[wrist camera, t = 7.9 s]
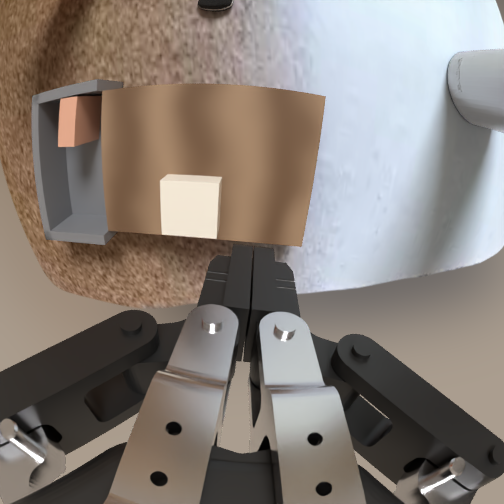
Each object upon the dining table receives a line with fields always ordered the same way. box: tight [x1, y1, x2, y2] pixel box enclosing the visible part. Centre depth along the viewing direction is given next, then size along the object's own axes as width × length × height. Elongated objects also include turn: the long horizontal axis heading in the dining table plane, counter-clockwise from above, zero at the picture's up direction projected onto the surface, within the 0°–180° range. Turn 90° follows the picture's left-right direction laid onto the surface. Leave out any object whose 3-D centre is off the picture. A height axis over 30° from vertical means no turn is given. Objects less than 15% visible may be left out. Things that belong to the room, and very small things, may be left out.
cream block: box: [160, 174, 222, 239], centre depth 21 cm, size 4×4×2 cm
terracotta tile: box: [58, 96, 102, 147], centre depth 19 cm, size 4×4×2 cm
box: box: [32, 79, 123, 245], centre depth 21 cm, size 8×15×5 cm, turn 175°
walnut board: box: [101, 84, 325, 247], centre depth 22 cm, size 18×13×4 cm
